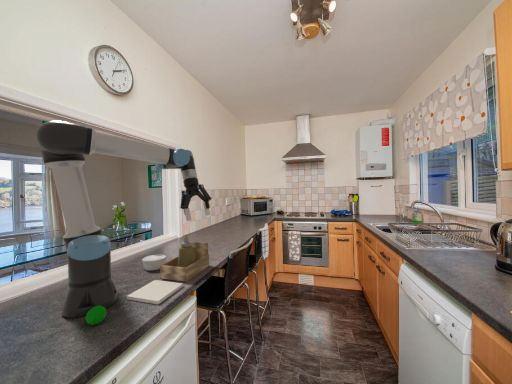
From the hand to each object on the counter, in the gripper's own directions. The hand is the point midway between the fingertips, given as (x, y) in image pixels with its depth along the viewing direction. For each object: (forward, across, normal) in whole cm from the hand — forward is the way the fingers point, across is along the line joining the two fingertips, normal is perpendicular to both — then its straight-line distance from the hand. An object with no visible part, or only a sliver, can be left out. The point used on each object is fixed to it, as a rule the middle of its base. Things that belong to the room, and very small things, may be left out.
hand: (198, 218), depth 106 cm
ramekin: (+20, +27, +10) cm, 35 cm away
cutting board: (+26, +2, +28) cm, 38 cm away
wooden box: (+24, +8, +7) cm, 27 cm away
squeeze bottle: (+25, +8, +7) cm, 27 cm away
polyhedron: (+26, +2, +48) cm, 55 cm away
